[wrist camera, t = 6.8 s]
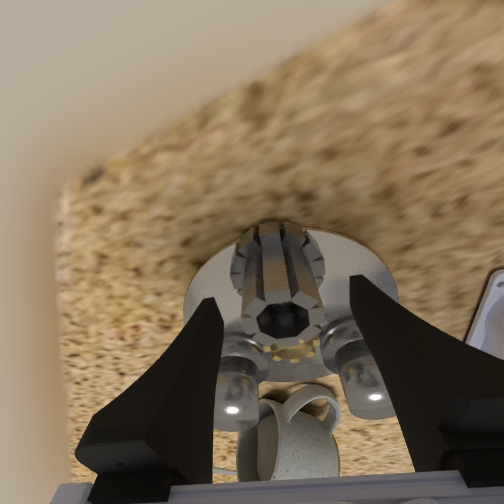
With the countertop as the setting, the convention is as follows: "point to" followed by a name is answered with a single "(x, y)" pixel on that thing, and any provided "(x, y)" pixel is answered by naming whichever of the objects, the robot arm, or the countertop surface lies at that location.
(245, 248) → the planet gear
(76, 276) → the countertop surface
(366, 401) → the carrier
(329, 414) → the ceramic mug
